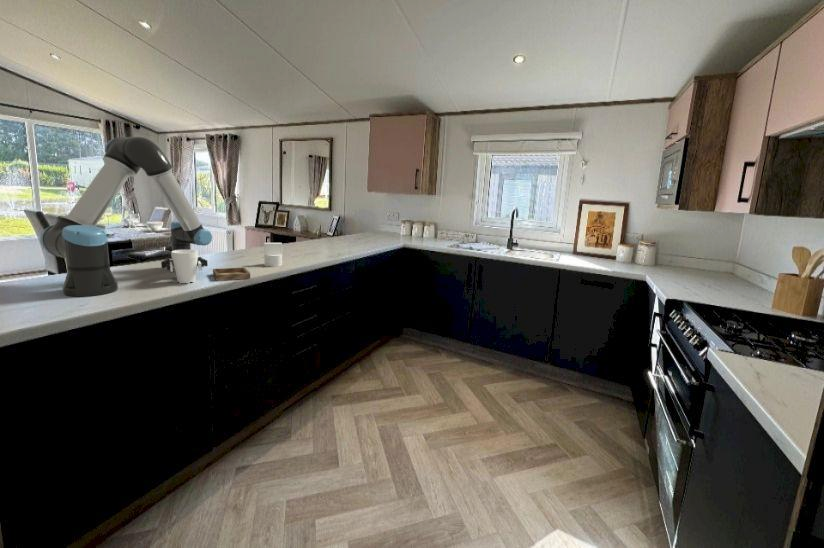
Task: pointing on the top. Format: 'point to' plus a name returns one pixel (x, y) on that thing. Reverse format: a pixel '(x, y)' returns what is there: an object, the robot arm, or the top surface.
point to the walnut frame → (231, 273)
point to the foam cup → (185, 265)
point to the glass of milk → (273, 254)
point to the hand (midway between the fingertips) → (186, 267)
